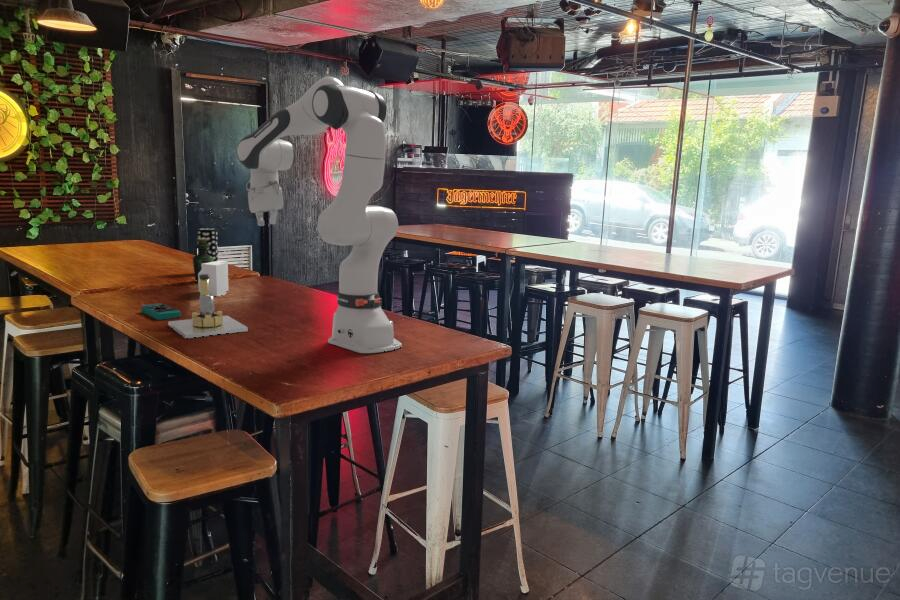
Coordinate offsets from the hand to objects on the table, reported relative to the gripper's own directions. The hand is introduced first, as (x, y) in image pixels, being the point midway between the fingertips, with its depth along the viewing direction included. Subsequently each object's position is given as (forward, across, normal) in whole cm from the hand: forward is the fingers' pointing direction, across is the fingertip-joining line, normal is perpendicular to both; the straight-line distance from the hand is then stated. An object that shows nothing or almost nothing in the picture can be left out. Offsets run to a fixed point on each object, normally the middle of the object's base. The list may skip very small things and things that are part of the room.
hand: (266, 225), depth 214 cm
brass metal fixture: (+30, -6, +23) cm, 38 cm away
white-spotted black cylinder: (+17, +88, -9) cm, 90 cm away
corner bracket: (+24, +44, +4) cm, 50 cm away
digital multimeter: (+29, +16, +31) cm, 45 cm away
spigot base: (+32, -8, +24) cm, 41 cm away
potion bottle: (+20, +69, -1) cm, 72 cm away
